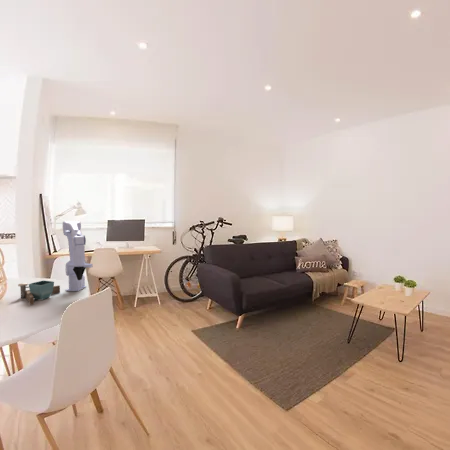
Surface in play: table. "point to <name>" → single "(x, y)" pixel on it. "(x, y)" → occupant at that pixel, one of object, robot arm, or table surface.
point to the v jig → (29, 296)
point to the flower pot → (41, 289)
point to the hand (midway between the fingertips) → (79, 279)
